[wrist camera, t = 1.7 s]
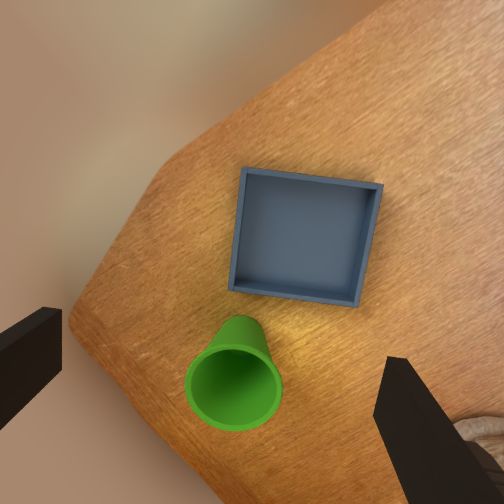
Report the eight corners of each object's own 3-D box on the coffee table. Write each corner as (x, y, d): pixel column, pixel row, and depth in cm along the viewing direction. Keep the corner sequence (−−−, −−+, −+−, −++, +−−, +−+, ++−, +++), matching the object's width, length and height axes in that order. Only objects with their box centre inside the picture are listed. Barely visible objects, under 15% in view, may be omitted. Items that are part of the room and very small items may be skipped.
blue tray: (230, 282, 42) (227, 290, 39) (243, 166, 38) (241, 166, 36) (352, 298, 41) (358, 308, 38) (375, 183, 38) (384, 184, 35)
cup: (209, 293, 42) (189, 337, 31) (286, 306, 42) (291, 354, 31) (200, 360, 44) (178, 423, 34) (272, 373, 44) (273, 439, 33)
